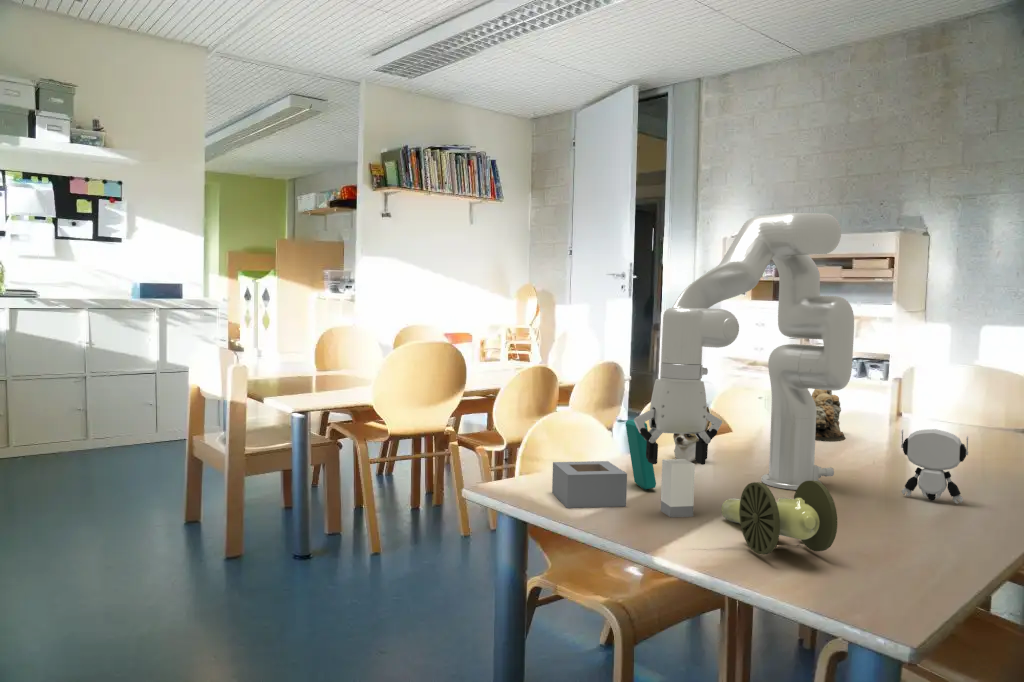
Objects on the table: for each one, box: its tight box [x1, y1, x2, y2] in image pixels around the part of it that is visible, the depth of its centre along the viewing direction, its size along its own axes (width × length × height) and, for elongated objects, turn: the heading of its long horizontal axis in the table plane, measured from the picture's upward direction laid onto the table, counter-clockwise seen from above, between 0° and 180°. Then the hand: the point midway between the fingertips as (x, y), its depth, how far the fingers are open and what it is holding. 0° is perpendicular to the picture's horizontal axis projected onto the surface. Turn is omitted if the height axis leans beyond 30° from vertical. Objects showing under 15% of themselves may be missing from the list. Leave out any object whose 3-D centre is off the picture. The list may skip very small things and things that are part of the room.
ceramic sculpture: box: [672, 406, 711, 463], centre depth 190 cm, size 11×9×15 cm
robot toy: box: [900, 428, 969, 504], centre depth 159 cm, size 12×4×15 cm, turn 54°
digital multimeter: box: [625, 418, 657, 490], centre depth 163 cm, size 7×15×3 cm
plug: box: [660, 458, 696, 518], centre depth 144 cm, size 5×5×10 cm
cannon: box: [720, 480, 838, 555], centre depth 129 cm, size 25×12×11 cm, turn 12°
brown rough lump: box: [811, 389, 846, 443], centre depth 229 cm, size 18×12×17 cm, turn 147°
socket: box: [551, 460, 628, 509], centre depth 153 cm, size 12×12×6 cm
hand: (676, 463), depth 143 cm, fingers open, 9 cm apart
